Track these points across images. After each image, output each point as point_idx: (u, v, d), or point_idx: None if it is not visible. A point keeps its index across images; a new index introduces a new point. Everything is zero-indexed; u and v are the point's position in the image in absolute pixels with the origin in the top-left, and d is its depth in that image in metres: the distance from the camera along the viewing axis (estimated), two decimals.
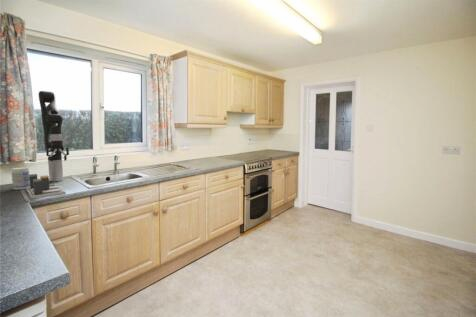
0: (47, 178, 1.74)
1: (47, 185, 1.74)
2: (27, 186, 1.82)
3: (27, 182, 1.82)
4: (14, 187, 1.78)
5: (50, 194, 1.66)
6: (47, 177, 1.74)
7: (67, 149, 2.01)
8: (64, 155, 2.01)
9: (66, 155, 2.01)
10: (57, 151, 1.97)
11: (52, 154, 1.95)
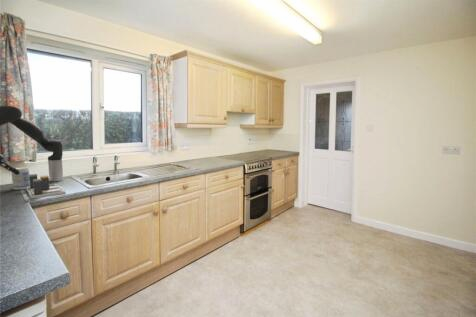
0: (47, 178, 1.74)
1: (47, 185, 1.74)
2: (27, 186, 1.82)
3: (27, 182, 1.82)
4: (14, 187, 1.78)
5: (50, 194, 1.66)
6: (47, 177, 1.74)
7: (3, 167, 1.54)
8: None
9: (11, 170, 1.58)
10: None
11: None
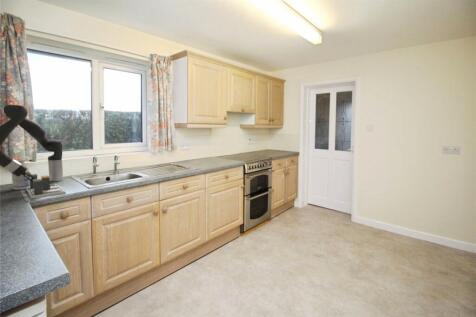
0: (48, 178, 1.74)
1: (48, 185, 1.74)
2: (27, 186, 1.82)
3: (27, 182, 1.82)
4: (14, 187, 1.78)
5: (50, 194, 1.66)
6: (48, 177, 1.74)
7: (29, 179, 1.65)
8: None
9: None
10: None
11: None
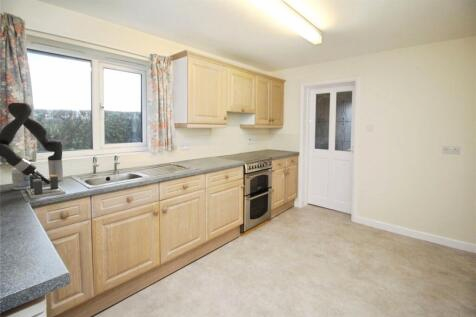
0: (56, 177, 1.77)
1: (56, 184, 1.78)
2: (27, 186, 1.82)
3: (27, 182, 1.82)
4: (14, 187, 1.78)
5: (50, 194, 1.66)
6: (56, 176, 1.77)
7: (38, 178, 1.68)
8: None
9: (43, 180, 1.73)
10: None
11: None
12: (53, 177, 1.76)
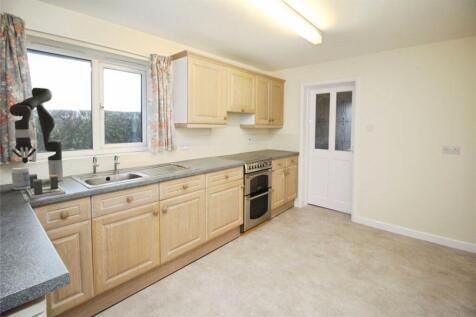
0: (56, 177, 1.77)
1: (56, 184, 1.78)
2: (27, 186, 1.82)
3: (27, 182, 1.82)
4: (14, 187, 1.78)
5: (50, 194, 1.66)
6: (56, 176, 1.77)
7: (34, 150, 1.68)
8: (25, 157, 1.66)
9: (27, 157, 1.66)
10: (23, 150, 1.64)
11: (23, 154, 1.64)
12: (53, 177, 1.76)
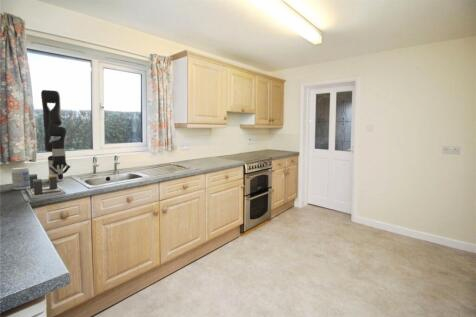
0: (55, 177, 1.77)
1: (55, 184, 1.77)
2: (27, 186, 1.82)
3: (27, 182, 1.82)
4: (14, 187, 1.78)
5: (50, 194, 1.66)
6: (55, 176, 1.77)
7: (68, 167, 1.82)
8: (60, 173, 1.80)
9: (62, 173, 1.80)
10: (59, 167, 1.78)
11: (59, 171, 1.78)
12: (52, 177, 1.76)
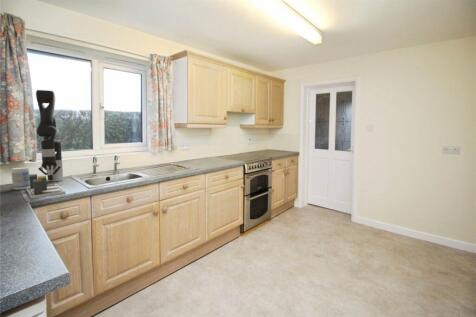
0: (45, 178, 1.73)
1: (45, 185, 1.73)
2: (27, 186, 1.82)
3: (27, 182, 1.82)
4: (14, 187, 1.78)
5: (50, 194, 1.66)
6: (45, 177, 1.73)
7: (58, 168, 1.78)
8: (50, 174, 1.76)
9: (52, 174, 1.76)
10: (49, 168, 1.74)
11: (49, 172, 1.74)
12: (42, 178, 1.72)
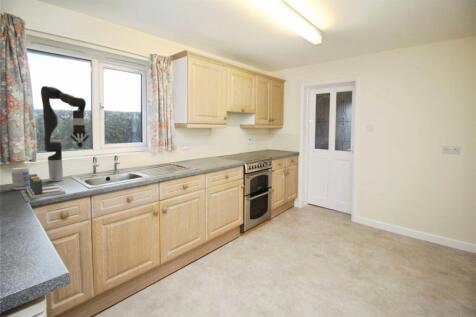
0: None
1: None
2: (27, 186, 1.82)
3: (27, 182, 1.82)
4: (14, 187, 1.78)
5: (50, 194, 1.66)
6: (38, 178, 1.70)
7: (87, 137, 1.95)
8: (80, 142, 1.93)
9: None
10: (79, 136, 1.92)
11: (79, 139, 1.92)
12: None
